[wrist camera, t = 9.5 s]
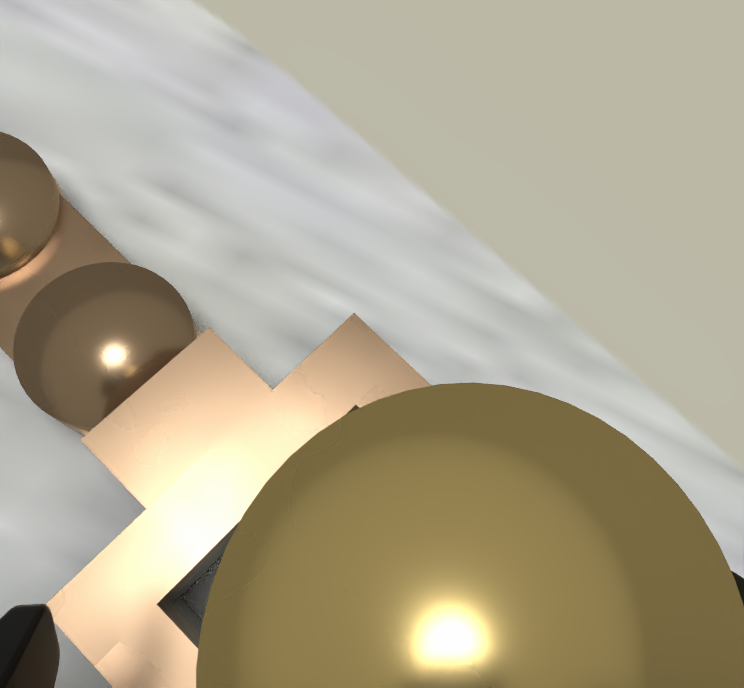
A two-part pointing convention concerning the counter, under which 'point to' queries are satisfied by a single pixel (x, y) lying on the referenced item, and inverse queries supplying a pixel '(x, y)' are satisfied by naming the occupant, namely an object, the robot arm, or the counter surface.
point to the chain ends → (154, 417)
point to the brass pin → (471, 558)
